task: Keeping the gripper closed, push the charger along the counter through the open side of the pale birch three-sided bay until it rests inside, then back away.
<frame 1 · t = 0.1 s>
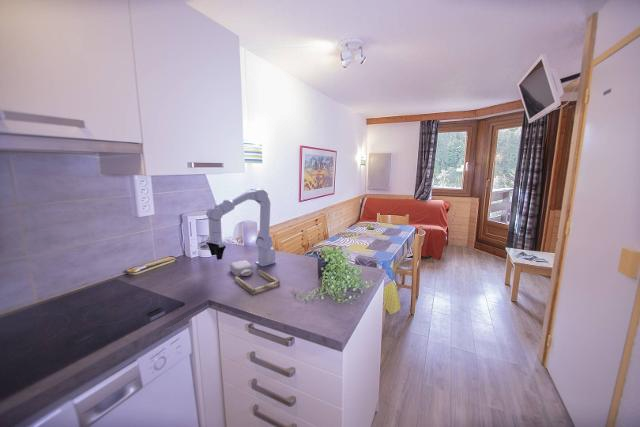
hand: (216, 257, 132), 10 cm above the worktop, tool pointing down, fingers open, 7 cm apart
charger: (243, 274, 137), on the worktop
bay: (256, 282, 127), on the worktop
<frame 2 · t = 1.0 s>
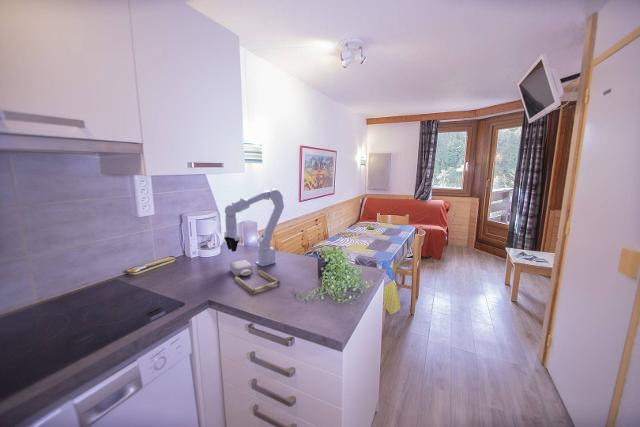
hand: (232, 250, 145), 9 cm above the worktop, tool pointing down, fingers open, 4 cm apart
nothing on the worktop moved.
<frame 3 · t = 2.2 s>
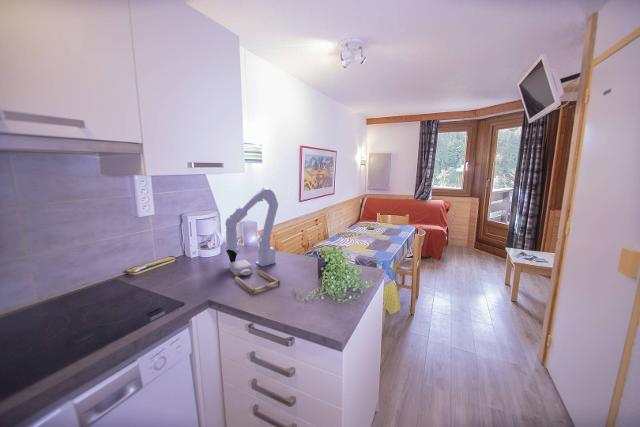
hand: (232, 262, 146), 2 cm above the worktop, tool pointing down, fingers closed
nothing on the worktop moved.
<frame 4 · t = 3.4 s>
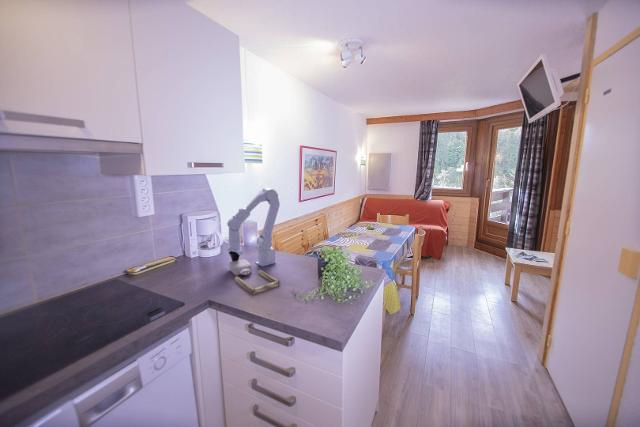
hand: (235, 263, 144), 2 cm above the worktop, tool pointing down, fingers closed
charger: (242, 273, 138), on the worktop, touching gripper
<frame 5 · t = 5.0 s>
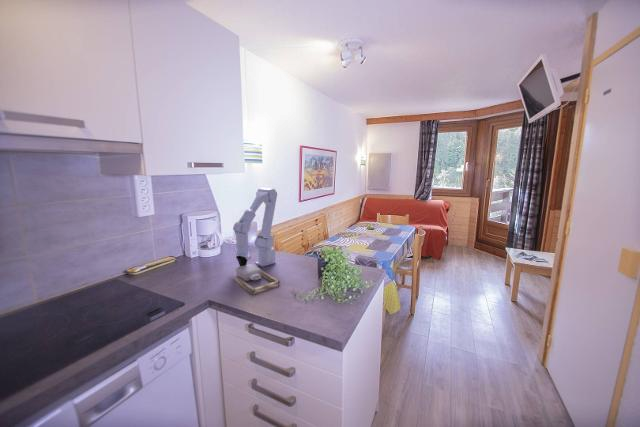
hand: (242, 268, 137), 2 cm above the worktop, tool pointing down, fingers closed
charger: (251, 278, 132), on the worktop, touching gripper
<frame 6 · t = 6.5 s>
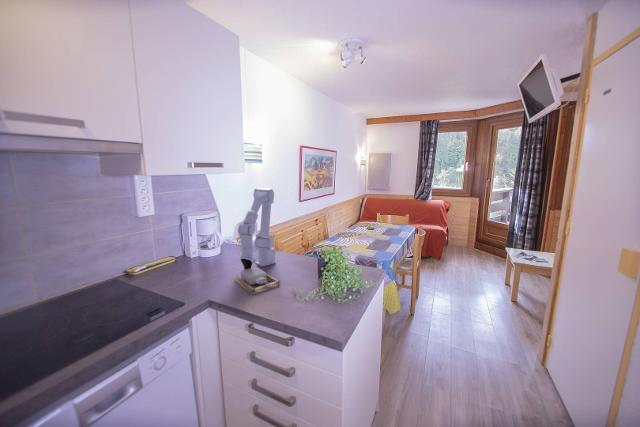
hand: (247, 272, 134), 2 cm above the worktop, tool pointing down, fingers closed
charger: (256, 282, 128), on the worktop, touching gripper
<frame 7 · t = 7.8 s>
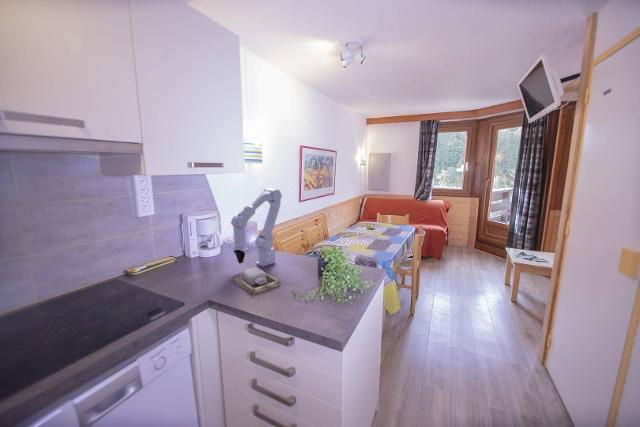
hand: (240, 262, 140), 5 cm above the worktop, tool pointing down, fingers closed
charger: (256, 282, 128), on the worktop
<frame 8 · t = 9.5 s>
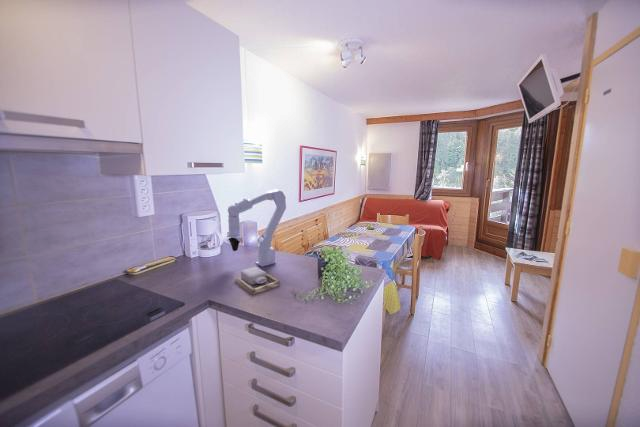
hand: (235, 250, 145), 9 cm above the worktop, tool pointing down, fingers closed
nothing on the worktop moved.
at the end: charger 1.7 cm off-centre on the bay, point -0.5 cm above the bay's base; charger tilted 0°; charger moved 12.3 cm from its start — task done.
